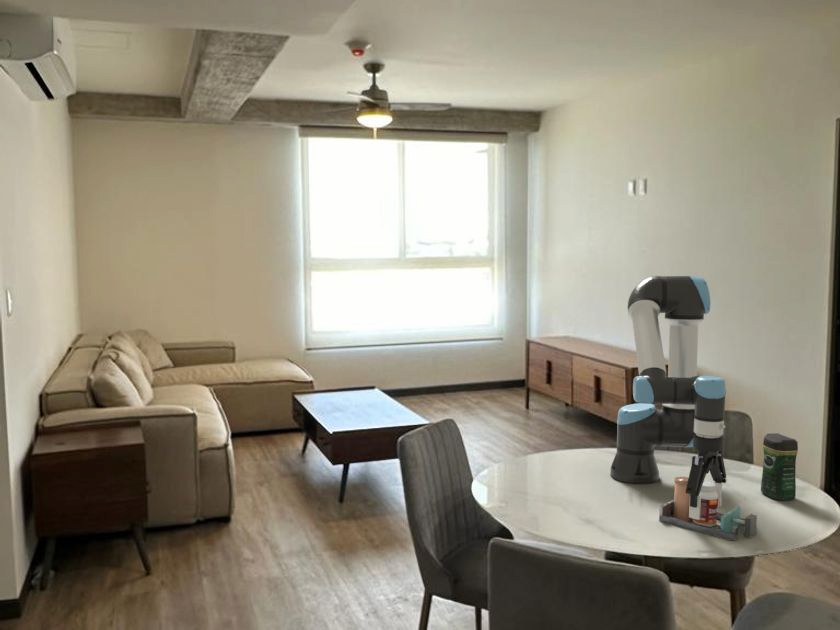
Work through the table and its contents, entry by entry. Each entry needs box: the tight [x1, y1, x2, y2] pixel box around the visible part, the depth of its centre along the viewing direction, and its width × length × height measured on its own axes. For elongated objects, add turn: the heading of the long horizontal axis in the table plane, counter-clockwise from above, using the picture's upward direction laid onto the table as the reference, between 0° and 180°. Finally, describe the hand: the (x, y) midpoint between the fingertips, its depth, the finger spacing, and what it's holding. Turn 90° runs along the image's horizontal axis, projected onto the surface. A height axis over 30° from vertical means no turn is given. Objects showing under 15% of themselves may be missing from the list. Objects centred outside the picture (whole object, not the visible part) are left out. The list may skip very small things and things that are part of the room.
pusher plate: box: [719, 506, 758, 539], centre depth 203 cm, size 6×11×5 cm, turn 136°
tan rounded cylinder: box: [673, 476, 693, 522], centre depth 214 cm, size 5×5×11 cm
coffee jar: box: [760, 432, 799, 501], centre depth 232 cm, size 10×8×19 cm
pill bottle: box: [692, 480, 719, 528], centre depth 210 cm, size 6×6×11 cm
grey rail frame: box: [658, 498, 746, 542], centre depth 210 cm, size 20×14×4 cm, turn 46°
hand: (705, 511), depth 210 cm, fingers open, 13 cm apart
